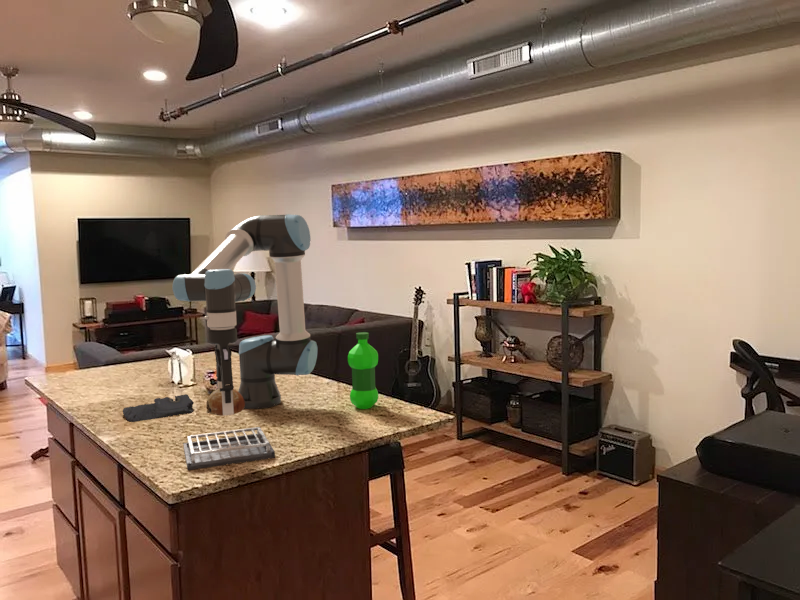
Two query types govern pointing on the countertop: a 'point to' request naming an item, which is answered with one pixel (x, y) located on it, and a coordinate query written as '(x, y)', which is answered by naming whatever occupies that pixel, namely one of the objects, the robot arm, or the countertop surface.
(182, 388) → the countertop surface
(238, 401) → the bread roll
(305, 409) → the countertop surface
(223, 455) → the cooling rack
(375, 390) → the plastic bottle
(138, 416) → the dark slate chunk
